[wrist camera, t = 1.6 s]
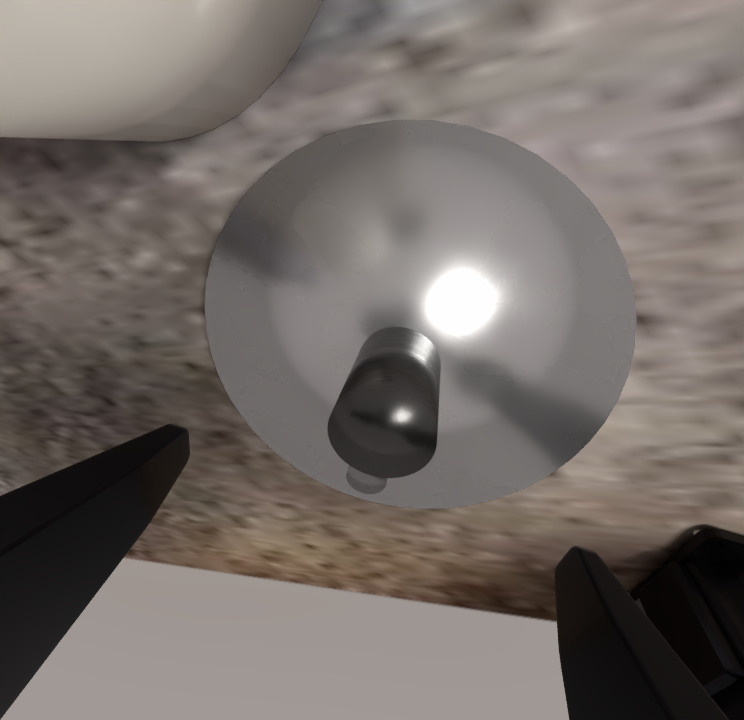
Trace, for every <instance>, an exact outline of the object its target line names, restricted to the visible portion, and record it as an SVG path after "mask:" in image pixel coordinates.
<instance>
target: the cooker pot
mask: <svg viewBox="0 0 744 720" xmlns="http://www.w3.org/2000/svg"><path fill="white" fill-rule="evenodd" d="M321 2H322V0H0V137H12V138H49V139H85V140H121V141H171V140H177V139H183V138H189V137H192V136H195V135H198V134H201V133H204V132H206V131H209V130H212V129H215V128H216V127H218V126H220V125H222V124H223V123H225V122H227V121H229V120H230V119H232V118H234V117H236V116H237V115H239V114H240V113H241V112H242V111H244V110H245V109H246V108H247V107H248V106H250V105H251V104H252V103H253V102H255V101H256V100H257V99H258V98H259V97H261V95H262V94H263V93H264V92H265V91H266V90H267V89H268V88H269V86H270V85H271V84H272V83H273V82H274V81H275V80H276V79H277V77H278V76H279V75H280V74H281V73H282V72H283V70H284V69H285V67H286V66H287V64H288V63H289V61H290V60H291V58H292V57H293V55H294V53H295V52H296V50H297V49H298V47H299V46H300V44H301V43H302V41H303V39H304V37H305V35H306V33H307V31H308V29H309V27H310V25H311V23H312V21H313V19H314V17H315V15H316V13H317V11H318V9H319V7H320V5H321Z"/></svg>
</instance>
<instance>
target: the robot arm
mask: <svg viewBox="0 0 744 720" xmlns="http://www.w3.org/2000/svg"><path fill="white" fill-rule="evenodd" d="M189 455H190V447H189V433H188V430H187V429H186V428H184V427H181V426H178V425H174V424H168V425H165V426H162V427H160V428H158V429H155V430H153V431H151V432H148V433H146V434H144V435H141V436H139V437H137V438H134V439H132V440H130V441H127V442H125V443H123V444H120V445H118V446H116V447H113V448H111V449H109V450H106V451H104V452H102V453H99V454H97V455H95V456H92V457H90V458H88V459H85V460H83V461H81V462H78V463H76V464H74V465H71V466H69V467H67V468H64V469H62V470H60V471H57V472H55V473H53V474H50V475H48V476H46V477H43V478H41V479H39V480H36V481H34V482H32V483H29V484H27V485H25V486H22V487H20V488H18V489H15V490H13V491H11V492H8V493H6V494H4V495H1V496H0V719H1V718H2V717H3V715H4V714H5V713H6V711H7V710H8V709H9V707H10V706H11V705H12V704H13V702H14V701H15V700H16V698H17V697H18V696H19V694H20V693H21V692H22V690H23V689H24V688H25V686H26V685H27V684H28V683H29V681H30V680H31V679H32V677H33V676H34V675H35V673H36V672H37V671H38V669H39V668H40V667H41V665H42V664H43V663H44V661H45V660H46V659H47V658H48V656H49V655H50V654H51V652H52V651H53V650H54V648H55V647H56V646H57V644H58V643H59V642H60V640H61V639H62V638H63V636H64V635H65V634H66V633H67V631H68V630H69V629H70V627H71V626H72V624H73V623H74V622H75V621H76V619H77V618H78V617H79V615H80V614H81V613H82V612H83V610H84V609H85V608H86V606H87V605H88V604H89V602H90V601H91V600H92V598H93V597H94V596H95V594H96V593H97V592H98V590H99V589H100V588H101V587H102V585H103V584H104V583H105V581H106V580H107V579H108V577H109V576H110V575H111V573H112V572H113V571H114V569H115V568H116V567H117V565H118V564H119V563H120V562H121V560H122V559H123V558H124V556H125V555H126V554H127V552H128V551H129V550H130V548H131V547H132V546H133V544H134V543H135V542H136V541H137V539H138V538H139V537H140V535H141V534H142V533H143V531H144V530H145V529H146V527H147V526H148V524H149V523H150V522H151V520H152V518H153V517H154V515H155V514H156V512H157V511H158V509H159V507H160V506H161V504H162V503H163V501H164V499H165V498H166V496H167V494H168V493H169V491H170V490H171V488H172V486H173V485H174V483H175V481H176V480H177V478H178V476H179V475H180V473H181V472H182V470H183V468H184V467H185V465H186V463H187V461H188V459H189ZM555 593H556V611H557V628H558V643H559V654H560V662H561V669H562V675H563V682H564V688H565V694H566V701H567V707H568V713H569V720H744V537H742V536H739V535H735V534H732V533H728V532H725V531H721V530H718V529H712V528H711V529H704V530H701V531H699V532H698V533H696V534H695V535H694V536H693V537H692V538H691V539H690V540H689V541H688V542H687V543H686V544H684V545H683V546H682V547H681V548H680V549H679V550H678V551H677V552H676V553H675V554H674V555H673V556H671V557H670V558H669V559H668V560H667V561H666V562H665V563H664V564H663V565H662V566H661V567H660V568H658V569H657V570H656V571H655V572H654V573H653V574H652V575H651V576H650V577H649V578H648V579H647V580H645V581H644V582H643V583H642V584H641V585H640V586H639V587H638V588H637V589H636V590H635V591H634V592H633V593H631V594H630V595H629V593H628V592H627V591H626V590H625V588H624V587H623V586H622V585H621V583H620V582H619V581H618V580H617V578H616V577H615V576H614V574H613V573H612V572H611V571H610V569H609V568H608V567H607V566H606V564H605V563H604V562H603V561H602V559H601V558H600V557H599V556H598V555H597V553H595V552H594V551H592V550H589V549H586V548H583V547H579V546H574V547H572V548H571V549H570V550H569V551H568V552H567V554H566V555H565V556H564V557H563V559H562V560H561V561H560V562H559V563H558V565H557V567H556V569H555Z"/></svg>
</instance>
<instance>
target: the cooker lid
mask: <svg viewBox="0 0 744 720" xmlns="http://www.w3.org/2000/svg"><path fill="white" fill-rule="evenodd" d="M205 320H206V331H207V337H208V342H209V346H210V351H211V355H212V358H213V361H214V364H215V367H216V370H217V372H218V375H219V378H220V380H221V382H222V384H223V386H224V388H225V390H226V392H227V394H228V396H229V398H230V399H231V401H232V402H233V404H234V406H235V407H236V409H237V410H238V412H239V413H240V415H241V416H242V417H243V419H244V420H245V421H246V422H247V424H248V425H249V426H250V427H251V429H252V430H253V431H254V432H255V433H256V434H257V435H258V436H259V437H260V438H261V440H262V441H263V442H264V443H265V444H266V445H267V446H268V447H269V448H271V449H272V450H273V451H274V452H275V453H277V454H278V455H279V456H280V457H281V458H283V459H284V460H285V461H286V462H288V463H289V464H291V465H292V466H294V467H295V468H296V469H298V470H299V471H301V472H302V473H304V474H306V475H308V476H309V477H311V478H313V479H315V480H316V481H318V482H320V483H322V484H324V485H326V486H329V487H331V488H333V489H335V490H337V491H340V492H342V493H345V494H348V495H351V496H354V497H357V498H360V499H364V500H368V501H371V502H375V503H379V504H385V505H391V506H397V507H406V508H420V509H433V508H452V507H461V506H468V505H473V504H478V503H482V502H487V501H491V500H494V499H497V498H500V497H503V496H507V495H510V494H512V493H514V492H517V491H519V490H521V489H524V488H526V487H528V486H530V485H532V484H534V483H536V482H538V481H539V480H541V479H543V478H545V477H546V476H548V475H550V474H552V473H553V472H554V471H556V470H557V469H558V468H560V467H561V466H562V465H564V464H565V463H566V462H568V461H569V460H570V459H572V458H573V457H574V456H575V455H576V454H577V453H578V452H579V451H580V450H581V449H582V448H583V447H584V446H585V445H586V444H587V443H588V442H589V441H590V440H591V439H592V438H593V436H594V435H595V434H596V433H597V431H598V430H599V429H600V428H601V426H602V425H603V424H604V423H605V421H606V419H607V418H608V416H609V414H610V413H611V411H612V409H613V408H614V406H615V404H616V403H617V401H618V399H619V396H620V394H621V391H622V389H623V387H624V384H625V382H626V379H627V377H628V374H629V369H630V365H631V361H632V357H633V353H634V347H635V333H636V310H635V300H634V290H633V286H632V283H631V279H630V275H629V272H628V268H627V264H626V261H625V258H624V256H623V254H622V252H621V250H620V248H619V245H618V243H617V241H616V239H615V237H614V235H613V232H612V230H611V229H610V227H609V226H608V225H607V223H606V222H605V220H604V219H603V217H602V216H601V214H600V213H599V212H598V210H597V209H596V207H595V206H594V204H593V203H592V202H591V201H590V200H589V199H588V198H587V197H586V196H585V194H584V193H583V192H582V191H581V190H580V189H579V188H578V187H577V186H576V185H575V184H574V183H573V182H572V181H571V180H570V179H569V178H568V177H567V176H566V175H564V174H563V173H561V172H560V171H559V170H557V169H556V168H555V167H553V166H552V165H551V164H549V163H548V162H546V161H545V160H544V159H542V158H541V157H540V156H538V155H537V154H535V153H533V152H531V151H529V150H527V149H525V148H523V147H521V146H519V145H517V144H515V143H513V142H511V141H509V140H507V139H505V138H503V137H500V136H497V135H494V134H491V133H488V132H485V131H482V130H479V129H475V128H472V127H469V126H464V125H458V124H452V123H445V122H439V121H433V120H391V121H385V122H378V123H372V124H365V125H359V126H355V127H352V128H349V129H346V130H343V131H340V132H336V133H333V134H330V135H327V136H324V137H322V138H320V139H318V140H316V141H314V142H312V143H310V144H308V145H306V146H304V147H302V148H300V149H298V150H296V151H295V152H293V153H292V154H290V155H289V156H288V157H286V158H285V159H283V160H282V161H281V162H279V163H278V164H276V165H275V166H274V167H272V168H271V169H269V170H268V171H267V172H266V173H265V174H264V175H263V176H262V177H261V178H260V179H259V180H258V181H257V182H256V183H255V184H254V185H253V186H252V187H251V188H250V189H249V190H248V191H247V193H246V194H245V196H244V197H243V198H242V200H241V201H240V202H239V204H238V205H237V206H236V208H235V209H234V210H233V212H232V213H231V215H230V217H229V219H228V221H227V223H226V224H225V226H224V228H223V230H222V232H221V234H220V236H219V238H218V241H217V244H216V247H215V250H214V253H213V255H212V258H211V261H210V266H209V271H208V277H207V282H206V290H205Z"/></svg>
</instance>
